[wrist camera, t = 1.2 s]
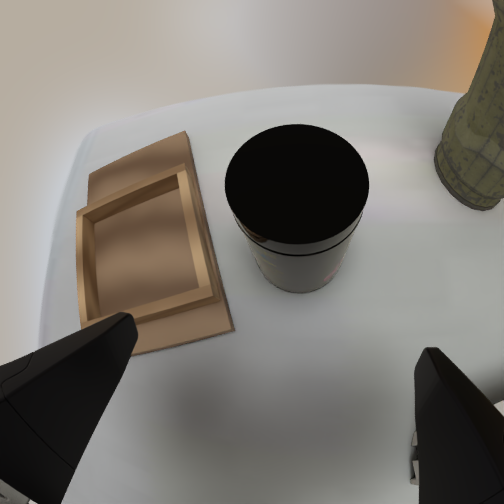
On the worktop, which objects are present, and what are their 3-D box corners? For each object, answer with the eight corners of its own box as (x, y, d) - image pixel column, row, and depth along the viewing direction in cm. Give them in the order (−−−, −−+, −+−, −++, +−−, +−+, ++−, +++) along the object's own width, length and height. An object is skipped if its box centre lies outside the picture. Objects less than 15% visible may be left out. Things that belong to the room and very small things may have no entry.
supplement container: (318, 311, 21) (334, 273, 11) (240, 270, 23) (196, 206, 13) (356, 235, 22) (386, 153, 13) (282, 201, 24) (267, 110, 15)
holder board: (234, 330, 21) (224, 326, 18) (106, 361, 22) (83, 359, 19) (188, 137, 29) (178, 117, 26) (94, 179, 29) (79, 164, 26)
